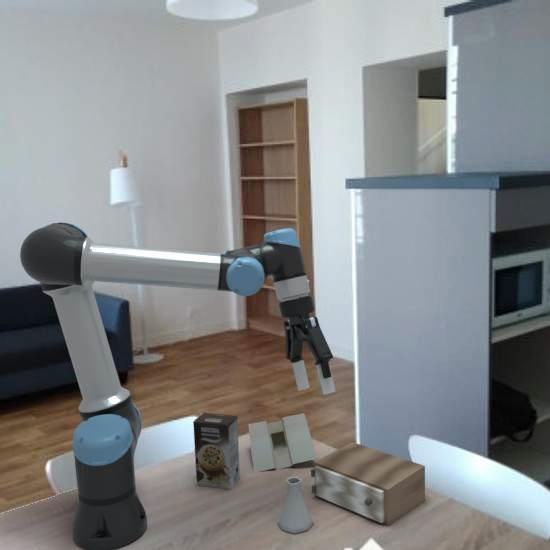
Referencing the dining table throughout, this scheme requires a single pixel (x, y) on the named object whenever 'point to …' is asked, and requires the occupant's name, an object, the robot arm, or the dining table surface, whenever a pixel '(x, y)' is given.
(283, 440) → the grooved block with hole
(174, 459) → the dining table surface
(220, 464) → the coffee box
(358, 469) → the cabinet
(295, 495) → the flask
